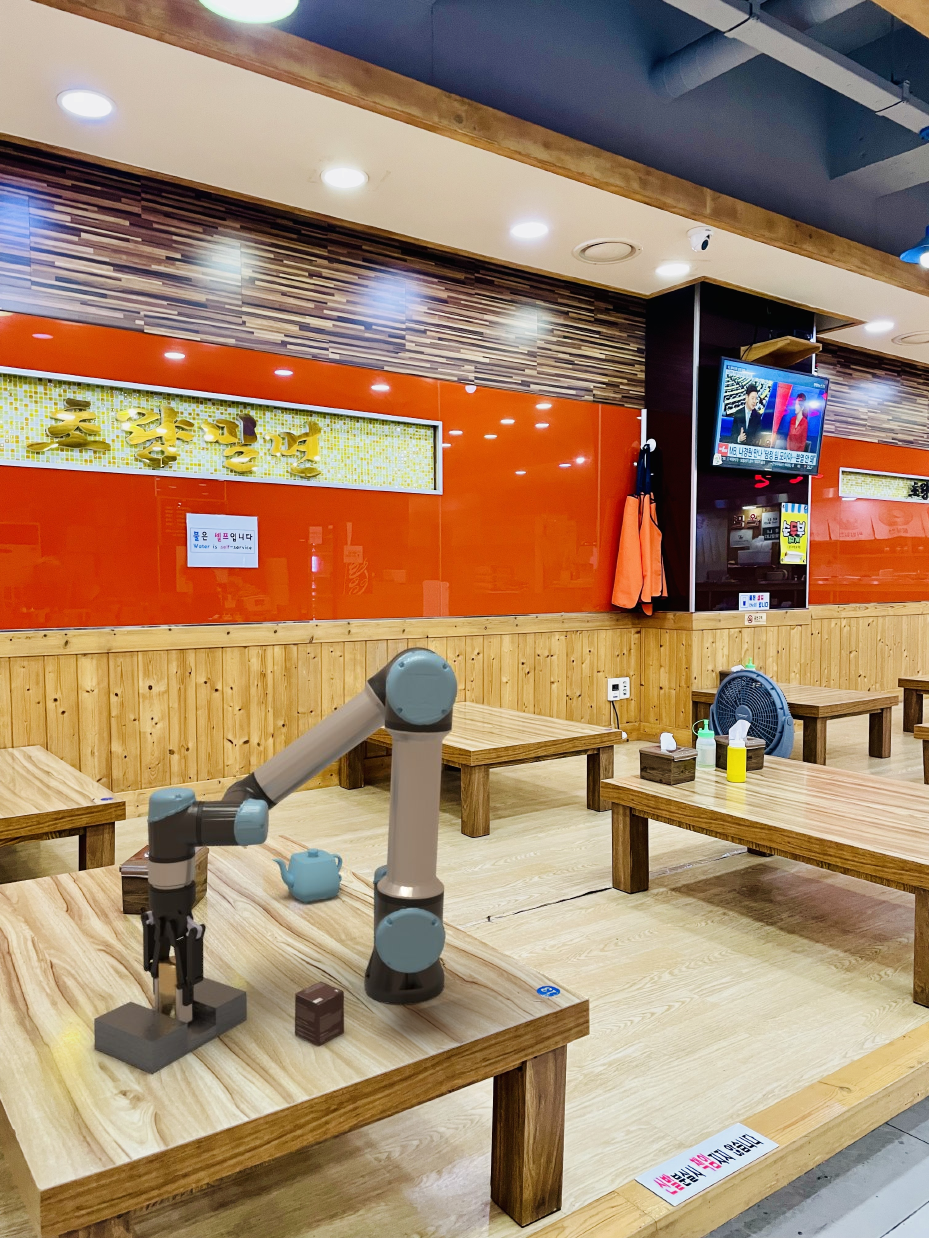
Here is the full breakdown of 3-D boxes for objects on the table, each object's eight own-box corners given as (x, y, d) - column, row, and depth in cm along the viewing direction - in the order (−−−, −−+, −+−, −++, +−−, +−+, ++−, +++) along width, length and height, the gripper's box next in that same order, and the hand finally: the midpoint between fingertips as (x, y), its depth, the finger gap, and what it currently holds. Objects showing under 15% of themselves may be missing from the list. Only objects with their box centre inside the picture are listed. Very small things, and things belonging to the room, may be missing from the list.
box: (321, 1021, 151) (321, 980, 151) (345, 1033, 147) (345, 990, 147) (293, 1035, 147) (293, 992, 146) (317, 1047, 143) (317, 1003, 143)
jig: (246, 1019, 152) (246, 991, 152) (151, 1073, 135) (151, 1042, 134) (191, 999, 159) (190, 972, 159) (94, 1048, 142) (94, 1018, 142)
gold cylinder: (193, 1017, 148) (193, 959, 147) (171, 1028, 144) (171, 969, 143) (175, 1010, 150) (174, 953, 150) (153, 1021, 146) (152, 963, 146)
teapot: (263, 895, 213) (263, 849, 213) (332, 883, 223) (332, 838, 222) (280, 911, 203) (280, 863, 202) (351, 897, 212) (352, 851, 212)
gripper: (226, 884, 145) (227, 1022, 145) (155, 866, 154) (156, 996, 155) (191, 898, 138) (192, 1042, 139) (119, 878, 147) (120, 1014, 148)
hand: (173, 1018), depth 147 cm, fingers closed on gold cylinder, 5 cm apart
